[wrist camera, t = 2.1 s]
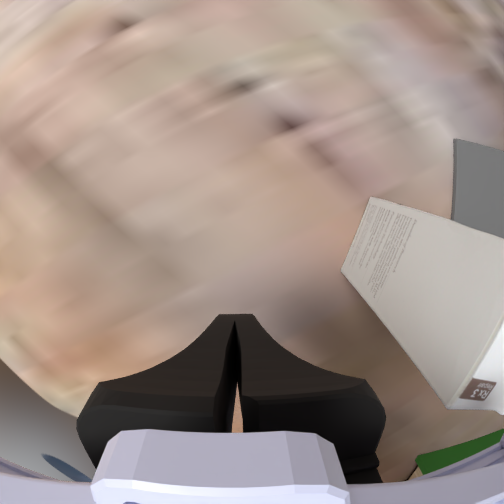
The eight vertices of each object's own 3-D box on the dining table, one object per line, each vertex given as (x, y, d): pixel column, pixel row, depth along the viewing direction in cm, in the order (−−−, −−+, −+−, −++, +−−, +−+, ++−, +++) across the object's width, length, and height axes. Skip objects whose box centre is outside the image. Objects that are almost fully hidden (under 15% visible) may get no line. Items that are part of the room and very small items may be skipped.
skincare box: (448, 234, 21) (601, 301, 7) (419, 304, 22) (544, 415, 8) (362, 192, 20) (544, 238, 6) (331, 274, 21) (451, 422, 7)
